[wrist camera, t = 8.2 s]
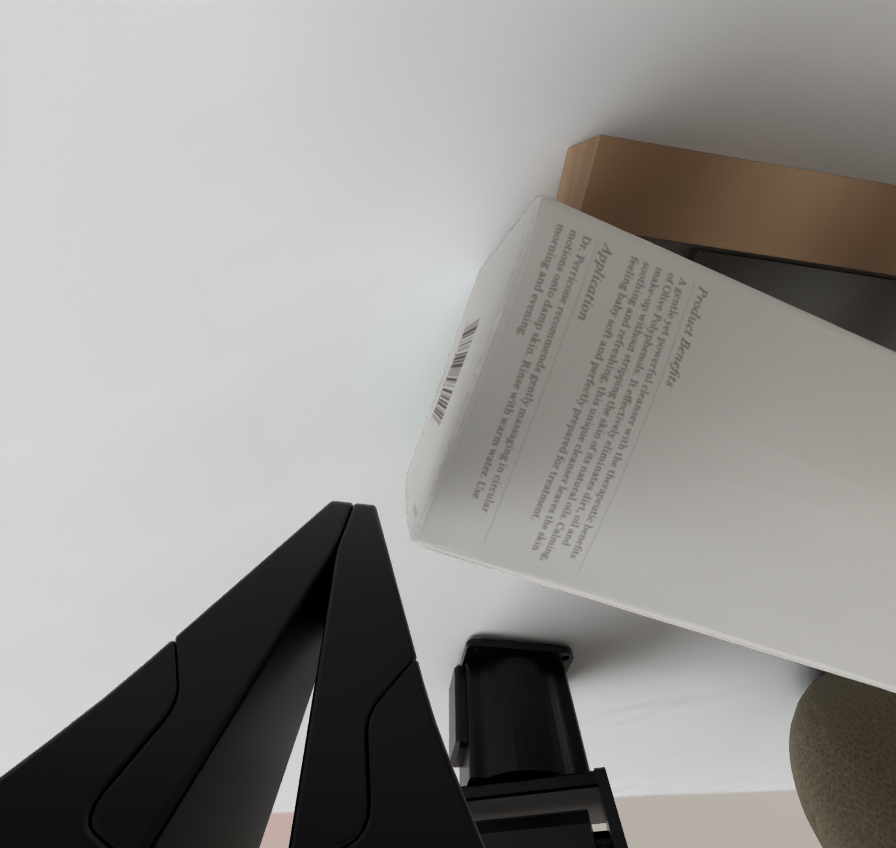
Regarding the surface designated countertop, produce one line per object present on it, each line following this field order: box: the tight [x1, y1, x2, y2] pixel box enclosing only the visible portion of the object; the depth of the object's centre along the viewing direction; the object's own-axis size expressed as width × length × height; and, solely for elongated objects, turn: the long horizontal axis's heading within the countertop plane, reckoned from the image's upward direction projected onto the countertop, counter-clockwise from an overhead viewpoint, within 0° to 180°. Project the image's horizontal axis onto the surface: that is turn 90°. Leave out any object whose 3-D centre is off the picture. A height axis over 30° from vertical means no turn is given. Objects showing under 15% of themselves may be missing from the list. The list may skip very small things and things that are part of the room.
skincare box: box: [406, 195, 896, 693], centre depth 12 cm, size 8×7×16 cm
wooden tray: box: [556, 135, 896, 352], centre depth 15 cm, size 20×15×3 cm
